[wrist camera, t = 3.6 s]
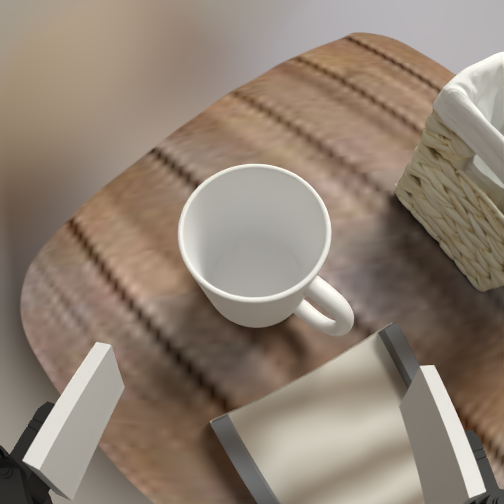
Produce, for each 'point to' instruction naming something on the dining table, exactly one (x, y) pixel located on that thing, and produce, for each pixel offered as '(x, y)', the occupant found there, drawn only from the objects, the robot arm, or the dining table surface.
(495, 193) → the storage basket
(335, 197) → the dining table surface
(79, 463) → the robot arm
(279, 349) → the dining table surface
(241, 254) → the cup
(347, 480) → the rail board
